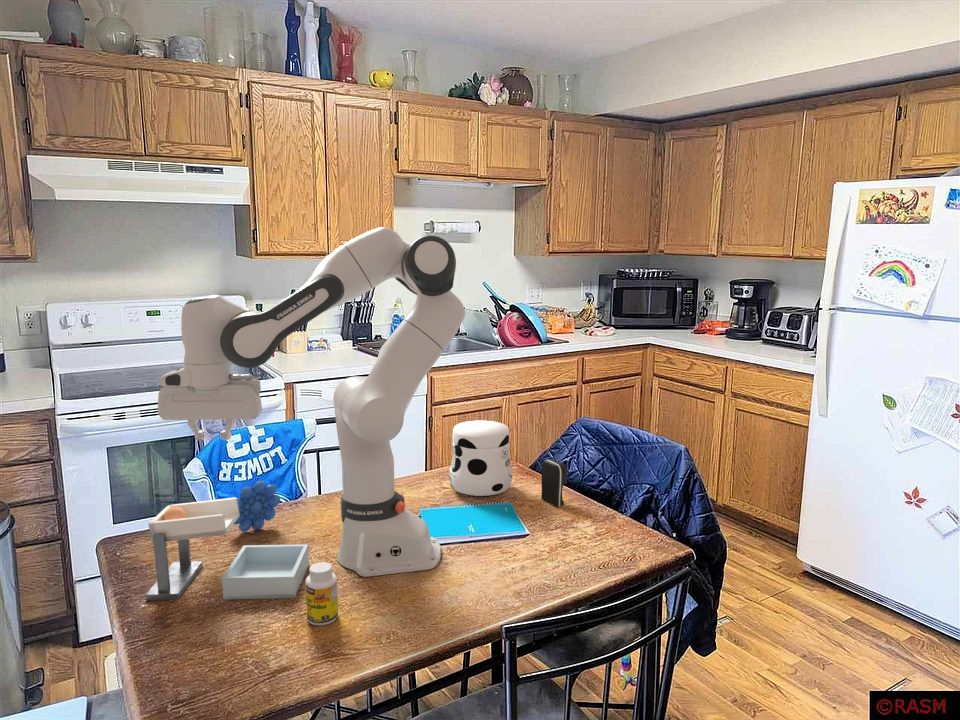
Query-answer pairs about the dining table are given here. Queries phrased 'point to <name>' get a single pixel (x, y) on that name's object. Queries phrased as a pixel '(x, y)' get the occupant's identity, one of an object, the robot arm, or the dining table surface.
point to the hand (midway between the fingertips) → (213, 439)
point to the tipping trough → (197, 520)
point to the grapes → (256, 506)
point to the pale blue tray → (266, 572)
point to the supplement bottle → (321, 594)
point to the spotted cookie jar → (480, 459)
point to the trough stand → (172, 570)
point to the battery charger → (553, 481)
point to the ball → (174, 513)
